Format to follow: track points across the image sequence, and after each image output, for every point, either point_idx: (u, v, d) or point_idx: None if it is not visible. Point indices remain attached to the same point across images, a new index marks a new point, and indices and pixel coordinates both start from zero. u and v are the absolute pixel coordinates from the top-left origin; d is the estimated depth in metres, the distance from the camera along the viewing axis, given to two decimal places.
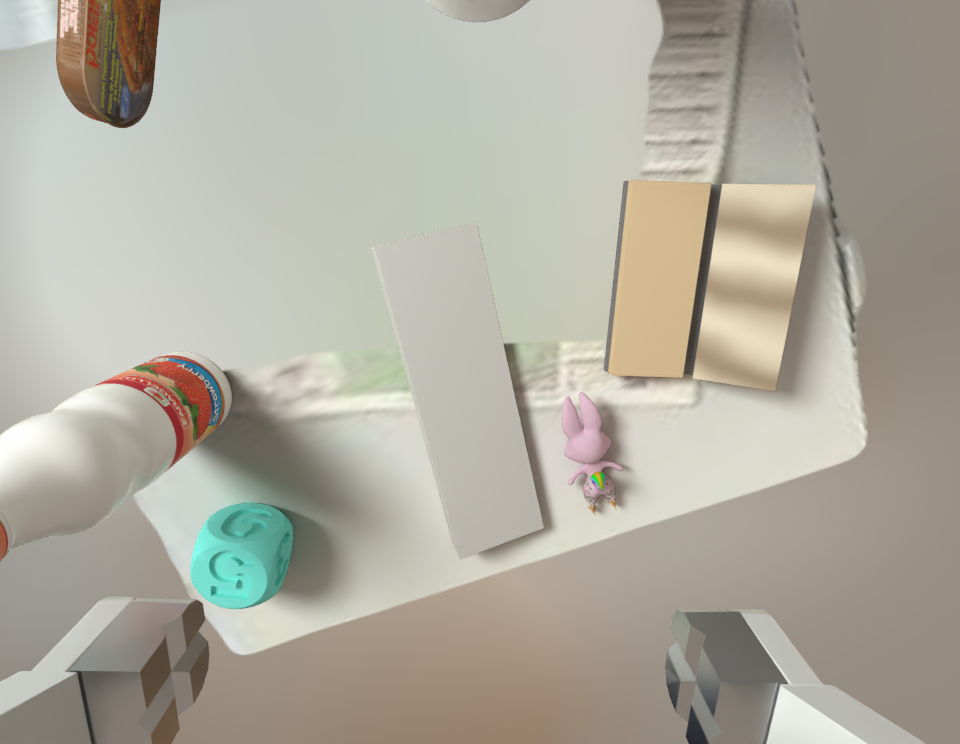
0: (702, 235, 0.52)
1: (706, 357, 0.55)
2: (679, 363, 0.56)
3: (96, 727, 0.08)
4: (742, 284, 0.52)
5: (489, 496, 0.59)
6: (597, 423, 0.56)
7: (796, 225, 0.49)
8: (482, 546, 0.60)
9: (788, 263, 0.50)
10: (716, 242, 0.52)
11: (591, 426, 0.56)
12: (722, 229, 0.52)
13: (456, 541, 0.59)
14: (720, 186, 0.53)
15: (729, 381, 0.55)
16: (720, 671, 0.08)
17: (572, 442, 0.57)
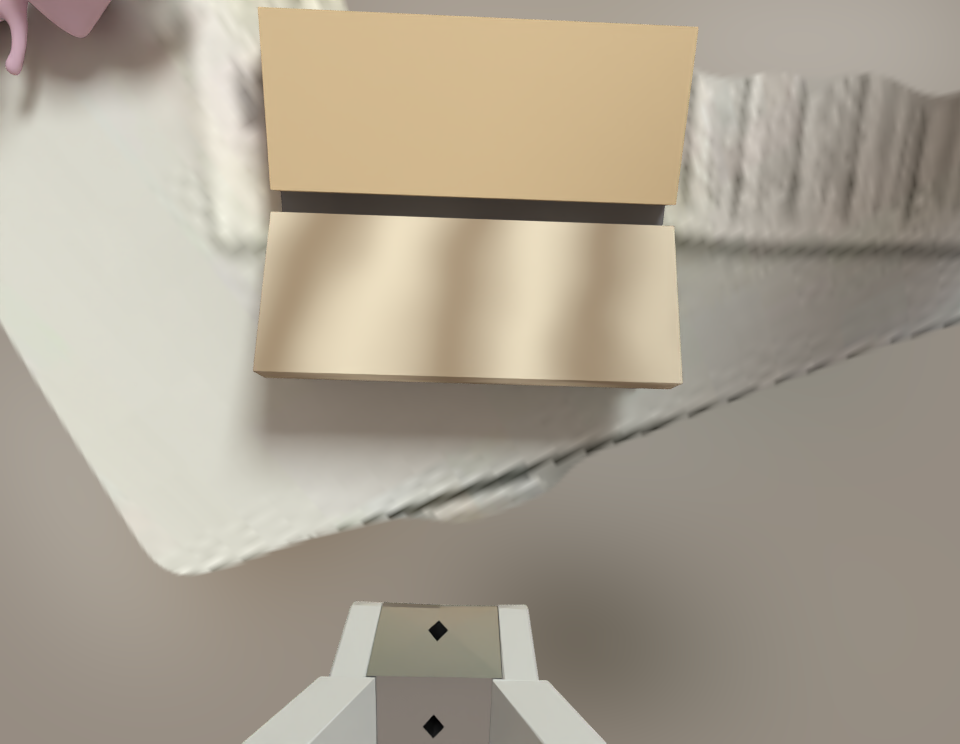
0: (576, 198, 0.26)
1: (319, 232, 0.25)
2: (302, 178, 0.25)
3: (382, 731, 0.08)
4: (480, 281, 0.25)
5: None
6: None
7: (604, 361, 0.24)
8: None
9: (528, 357, 0.24)
10: (562, 227, 0.26)
11: None
12: (588, 235, 0.26)
13: None
14: None
15: (269, 282, 0.25)
16: (441, 666, 0.08)
17: None
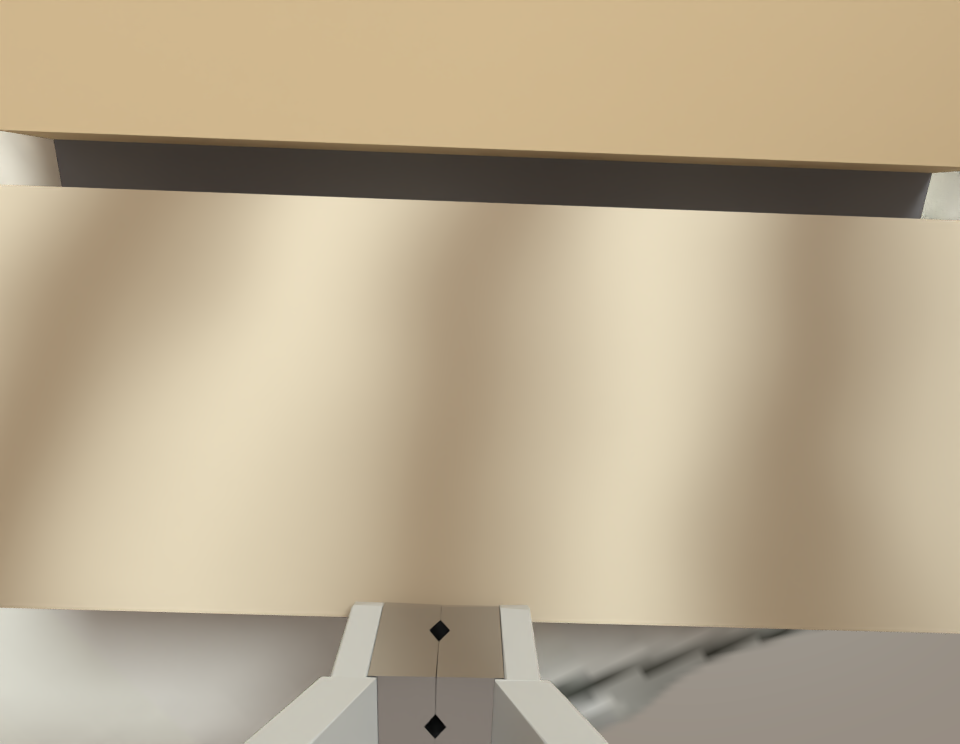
0: (750, 152, 0.10)
1: (115, 236, 0.10)
2: (69, 100, 0.10)
3: (384, 731, 0.08)
4: (513, 363, 0.10)
5: None
6: None
7: (831, 575, 0.10)
8: None
9: (637, 565, 0.10)
10: (713, 224, 0.11)
11: None
12: (776, 243, 0.10)
13: None
14: None
15: None
16: (443, 666, 0.08)
17: None
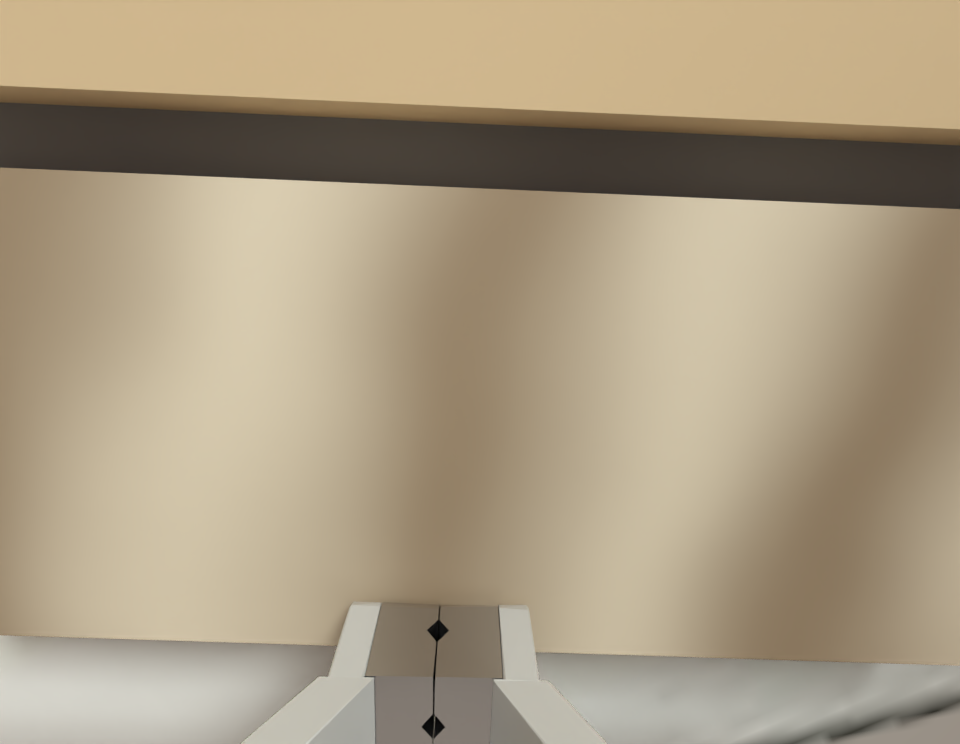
0: (878, 116, 0.07)
1: None
2: None
3: (381, 731, 0.08)
4: (524, 408, 0.08)
5: None
6: None
7: (841, 618, 0.09)
8: None
9: (642, 607, 0.09)
10: (814, 224, 0.07)
11: None
12: (893, 252, 0.08)
13: None
14: None
15: None
16: (442, 666, 0.08)
17: None
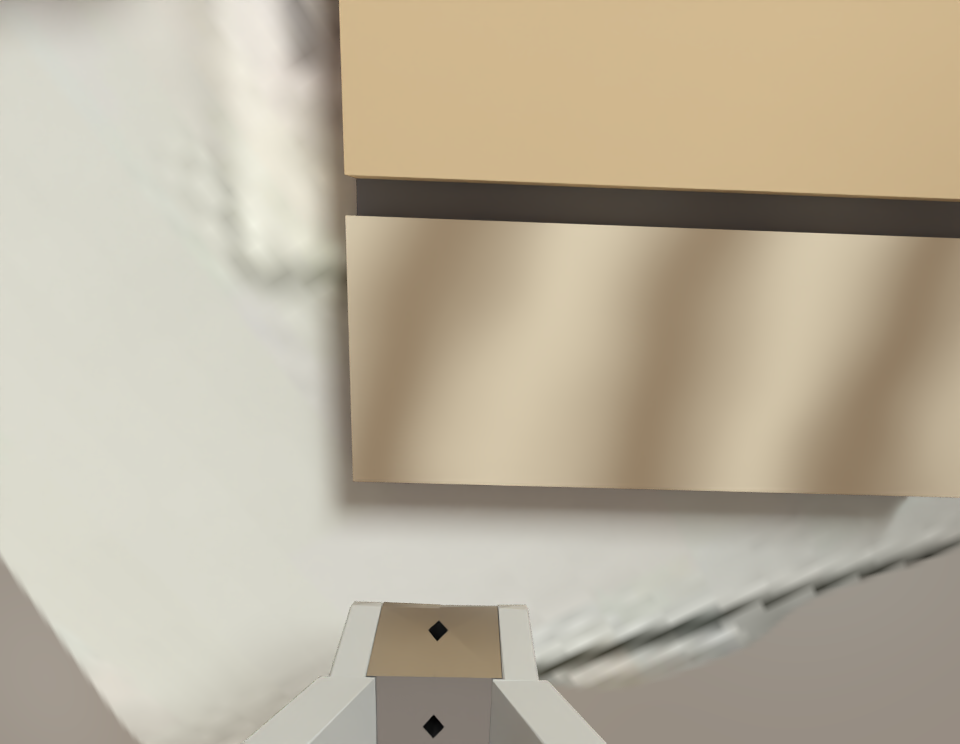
0: (893, 191, 0.14)
1: (434, 256, 0.14)
2: (403, 154, 0.14)
3: (382, 731, 0.08)
4: (704, 344, 0.15)
5: None
6: None
7: (873, 467, 0.16)
8: None
9: (761, 462, 0.16)
10: (860, 245, 0.15)
11: None
12: (901, 259, 0.15)
13: None
14: None
15: (360, 345, 0.15)
16: (441, 666, 0.08)
17: None
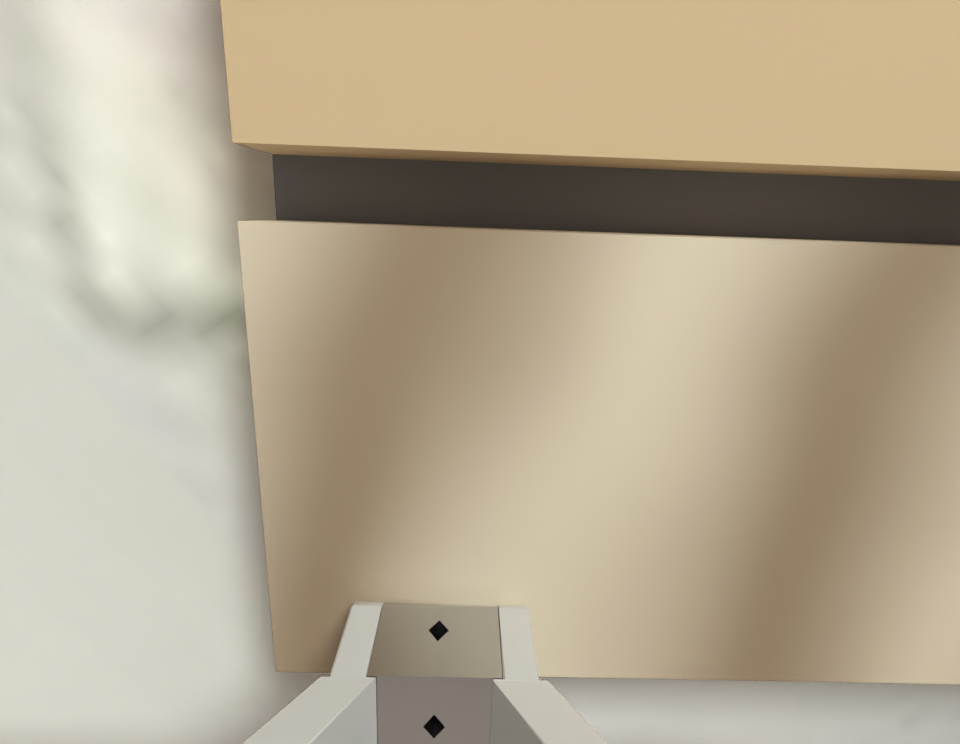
0: None
1: (408, 297, 0.08)
2: (345, 101, 0.07)
3: (383, 732, 0.08)
4: (893, 451, 0.09)
5: None
6: None
7: None
8: None
9: None
10: None
11: None
12: None
13: None
14: None
15: (278, 455, 0.08)
16: (442, 666, 0.08)
17: None
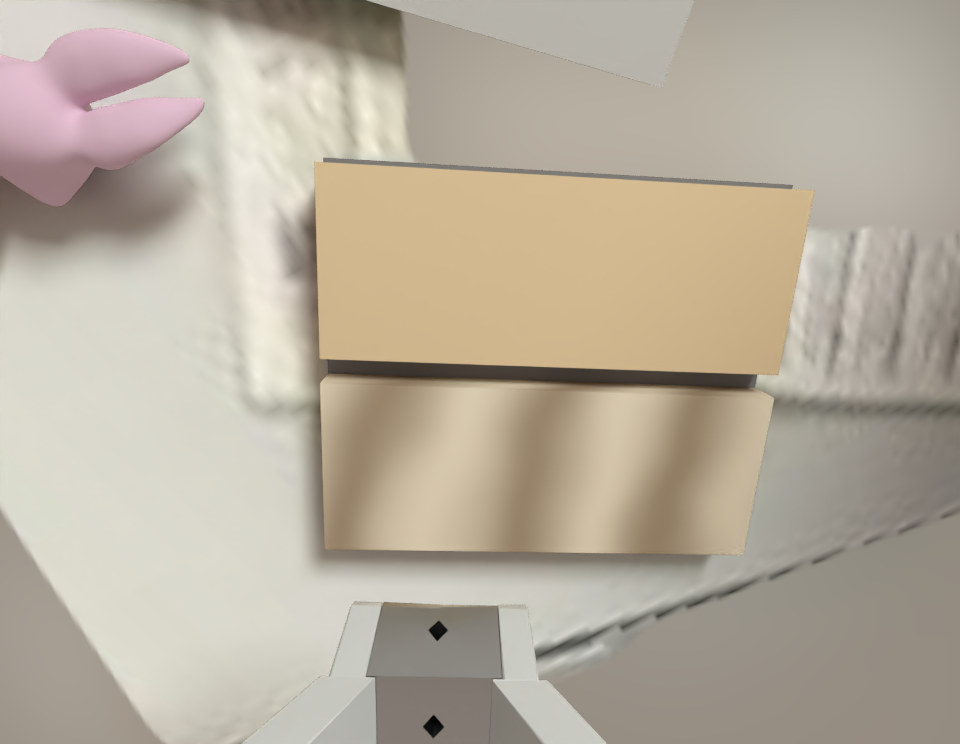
0: (668, 368, 0.23)
1: (378, 407, 0.22)
2: (357, 347, 0.22)
3: (382, 731, 0.08)
4: (555, 460, 0.23)
5: None
6: (101, 148, 0.18)
7: (672, 536, 0.25)
8: None
9: (597, 533, 0.24)
10: (650, 400, 0.23)
11: (89, 128, 0.18)
12: (677, 409, 0.23)
13: None
14: None
15: (329, 462, 0.23)
16: (441, 666, 0.08)
17: (26, 63, 0.18)
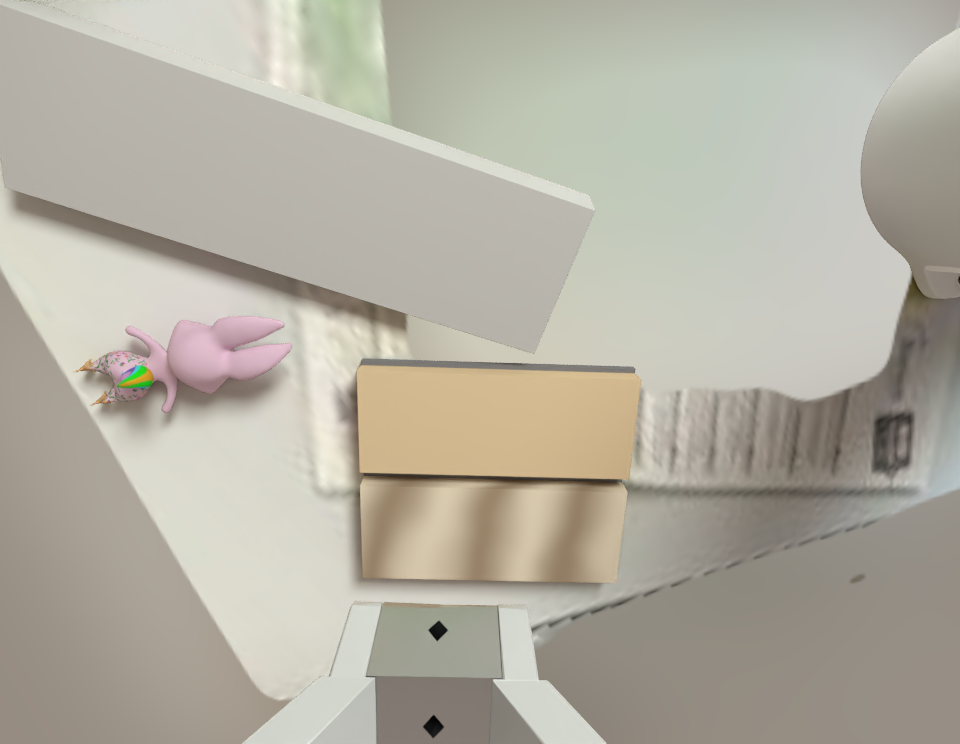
0: (562, 476, 0.39)
1: (393, 498, 0.39)
2: (381, 466, 0.38)
3: (382, 731, 0.08)
4: (497, 527, 0.40)
5: (102, 133, 0.31)
6: (239, 373, 0.35)
7: (571, 571, 0.41)
8: None
9: (525, 570, 0.41)
10: (552, 494, 0.39)
11: (233, 363, 0.35)
12: (569, 498, 0.39)
13: (23, 15, 0.28)
14: None
15: (365, 529, 0.39)
16: (441, 666, 0.08)
17: (202, 332, 0.34)
